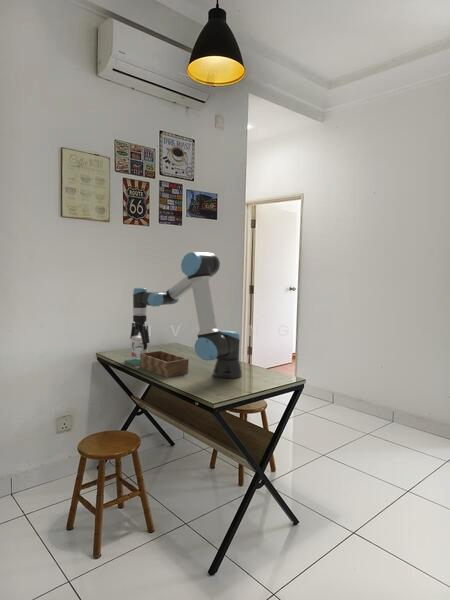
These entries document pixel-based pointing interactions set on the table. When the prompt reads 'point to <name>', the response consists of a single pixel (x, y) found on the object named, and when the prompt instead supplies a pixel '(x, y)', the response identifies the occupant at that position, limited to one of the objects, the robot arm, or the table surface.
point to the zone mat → (133, 361)
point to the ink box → (137, 346)
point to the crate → (164, 363)
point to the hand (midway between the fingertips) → (139, 353)
